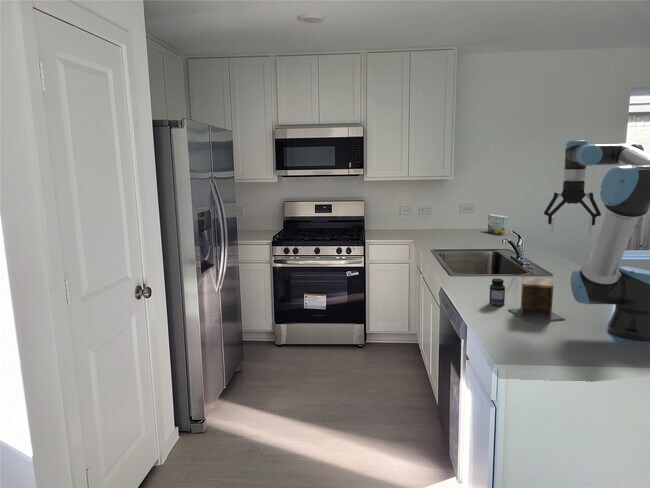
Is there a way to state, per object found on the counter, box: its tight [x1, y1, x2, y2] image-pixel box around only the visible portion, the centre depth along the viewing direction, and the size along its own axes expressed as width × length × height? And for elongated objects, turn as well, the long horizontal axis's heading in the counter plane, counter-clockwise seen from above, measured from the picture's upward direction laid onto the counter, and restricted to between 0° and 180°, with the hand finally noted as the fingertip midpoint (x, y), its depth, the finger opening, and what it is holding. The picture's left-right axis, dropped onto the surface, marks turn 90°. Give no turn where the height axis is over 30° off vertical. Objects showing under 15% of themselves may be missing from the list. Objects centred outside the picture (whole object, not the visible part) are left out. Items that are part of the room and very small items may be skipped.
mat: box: [507, 307, 566, 324], centre depth 182 cm, size 15×15×1 cm
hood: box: [520, 276, 554, 319], centre depth 181 cm, size 11×11×13 cm
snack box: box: [487, 213, 510, 236], centre depth 381 cm, size 21×6×15 cm, turn 17°
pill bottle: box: [488, 277, 506, 307], centre depth 196 cm, size 6×6×11 cm
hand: (570, 232), depth 185 cm, fingers open, 13 cm apart
